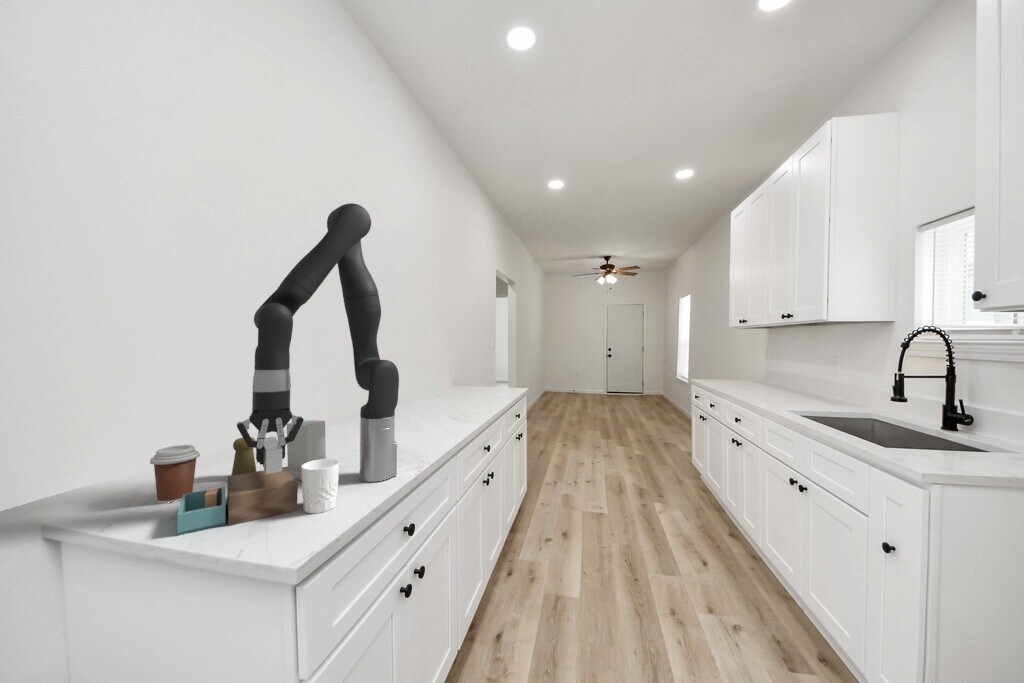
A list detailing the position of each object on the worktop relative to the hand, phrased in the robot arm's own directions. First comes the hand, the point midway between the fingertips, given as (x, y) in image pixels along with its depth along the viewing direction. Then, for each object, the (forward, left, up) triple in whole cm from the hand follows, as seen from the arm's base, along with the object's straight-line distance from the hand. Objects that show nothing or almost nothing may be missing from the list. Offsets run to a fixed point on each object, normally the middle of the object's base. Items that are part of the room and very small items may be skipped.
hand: (270, 461), depth 89 cm
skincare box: (-10, -16, -10) cm, 21 cm away
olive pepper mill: (+4, -26, -10) cm, 28 cm away
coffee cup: (+18, -18, -10) cm, 27 cm away
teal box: (+12, 0, -10) cm, 16 cm away
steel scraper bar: (0, 0, -1) cm, 1 cm away
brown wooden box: (+2, 0, -10) cm, 10 cm away
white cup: (-9, +9, -10) cm, 16 cm away
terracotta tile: (+10, -3, -7) cm, 13 cm away
